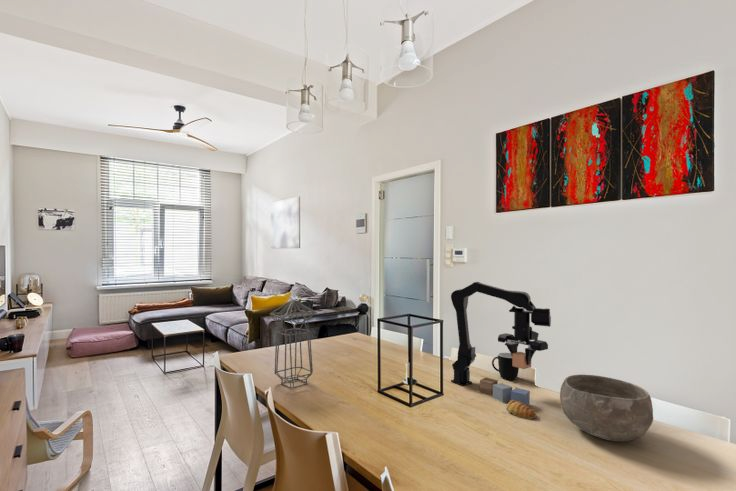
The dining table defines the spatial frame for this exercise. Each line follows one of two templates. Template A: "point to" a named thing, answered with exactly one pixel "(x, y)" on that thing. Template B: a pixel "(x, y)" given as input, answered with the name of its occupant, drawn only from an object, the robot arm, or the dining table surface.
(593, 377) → the bowl
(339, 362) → the dining table surface
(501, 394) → the slate cube
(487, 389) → the walnut cube
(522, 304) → the robot arm
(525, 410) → the pastry
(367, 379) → the dining table surface
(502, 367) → the mug
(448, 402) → the dining table surface
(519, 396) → the blue cube
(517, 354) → the terracotta cube
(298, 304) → the geometric lantern
